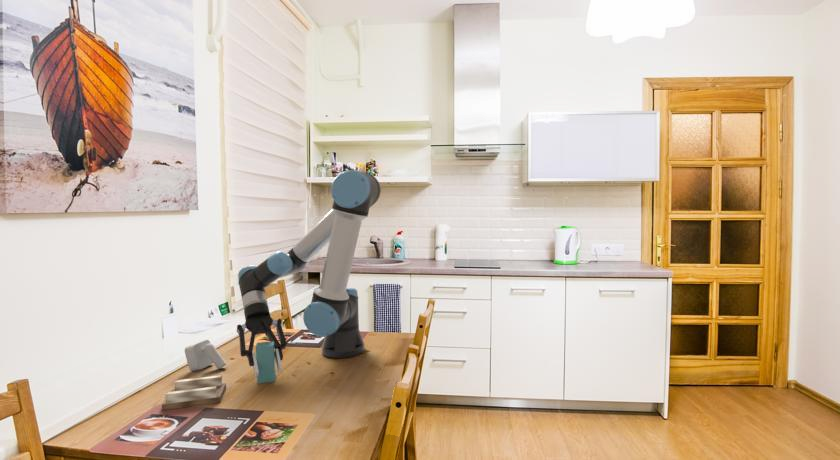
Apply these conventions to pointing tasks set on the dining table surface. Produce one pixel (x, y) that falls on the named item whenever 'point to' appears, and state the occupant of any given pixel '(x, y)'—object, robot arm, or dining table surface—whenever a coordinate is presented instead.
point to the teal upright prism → (266, 362)
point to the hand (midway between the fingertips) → (268, 372)
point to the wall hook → (203, 356)
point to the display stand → (195, 392)
